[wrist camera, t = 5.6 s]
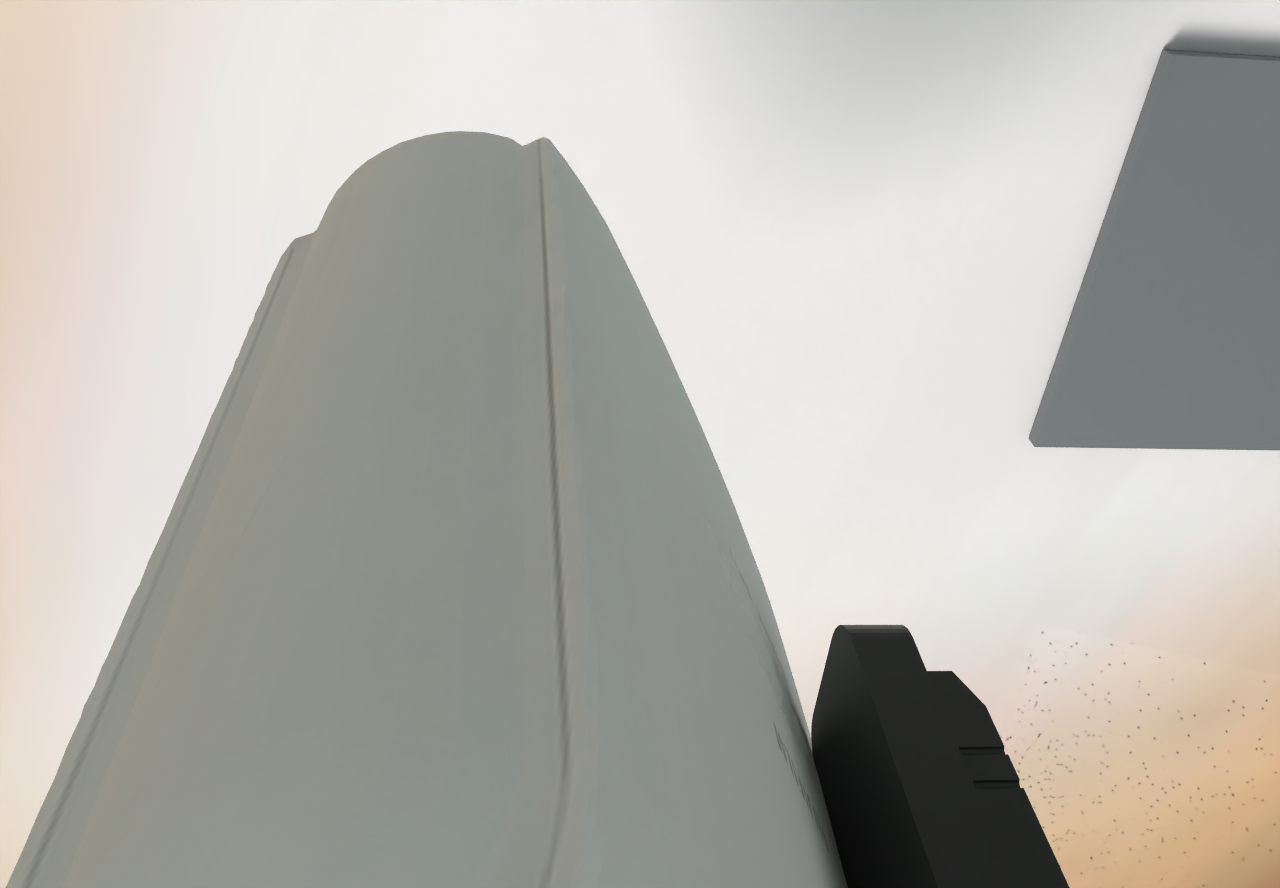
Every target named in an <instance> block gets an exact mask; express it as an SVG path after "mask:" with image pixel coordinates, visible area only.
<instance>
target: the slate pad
mask: <svg viewBox="0 0 1280 888" xmlns="http://www.w3.org/2000/svg"><path fill="white" fill-rule="evenodd" d="M1029 440H1030V441H1031V443H1032V444H1033V445H1034V447H1081V448H1154V449H1226V450H1280V57H1270V56H1254V55H1239V54H1223V53H1207V52H1191V51H1175V50H1162V53H1161V56H1160V59H1159V62H1158V65H1157V68H1156V70H1155V73H1154V76H1153V79H1152V82H1151V85H1150V88H1149V91H1148V94H1147V97H1146V99H1145V102H1144V105H1143V108H1142V111H1141V114H1140V117H1139V120H1138V123H1137V126H1136V128H1135V131H1134V134H1133V137H1132V140H1131V143H1130V146H1129V149H1128V152H1127V154H1126V157H1125V160H1124V163H1123V166H1122V169H1121V172H1120V175H1119V178H1118V181H1117V183H1116V186H1115V189H1114V192H1113V195H1112V198H1111V201H1110V204H1109V207H1108V210H1107V212H1106V215H1105V218H1104V221H1103V224H1102V227H1101V230H1100V233H1099V236H1098V239H1097V241H1096V244H1095V247H1094V250H1093V253H1092V256H1091V259H1090V262H1089V265H1088V267H1087V270H1086V273H1085V276H1084V279H1083V282H1082V285H1081V288H1080V291H1079V294H1078V296H1077V299H1076V302H1075V305H1074V308H1073V311H1072V314H1071V317H1070V320H1069V323H1068V325H1067V328H1066V331H1065V334H1064V337H1063V340H1062V343H1061V346H1060V349H1059V352H1058V354H1057V357H1056V360H1055V363H1054V366H1053V369H1052V372H1051V375H1050V378H1049V380H1048V383H1047V386H1046V389H1045V392H1044V395H1043V398H1042V401H1041V404H1040V407H1039V409H1038V412H1037V415H1036V418H1035V421H1034V424H1033V427H1032V430H1031V433H1030V436H1029Z"/></svg>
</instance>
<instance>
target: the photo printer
mask: <svg viewBox="0 0 1280 888" xmlns="http://www.w3.org/2000/svg"><path fill="white" fill-rule="evenodd" d="M6 888H848V886H847V883H846V879H845V875H844V871H843V868H842V864H841V860H840V857H839V853H838V849H837V845H836V841H835V837H834V834H833V830H832V826H831V822H830V818H829V815H828V811H827V807H826V803H825V800H824V796H823V792H822V788H821V784H820V781H819V777H818V773H817V770H816V766H815V763H814V759H813V755H812V742H811V737H810V733H809V730H808V726H807V723H806V720H805V716H804V713H803V709H802V706H801V703H800V699H799V696H798V692H797V689H796V686H795V682H794V679H793V676H792V672H791V669H790V666H789V662H788V659H787V656H786V652H785V649H784V646H783V642H782V639H781V636H780V632H779V629H778V626H777V623H776V620H775V616H774V613H773V610H772V607H771V604H770V601H769V598H768V595H767V592H766V589H765V586H764V583H763V581H762V578H761V575H760V573H759V570H758V567H757V565H756V562H755V559H754V557H753V554H752V551H751V549H750V546H749V544H748V541H747V538H746V536H745V533H744V530H743V528H742V525H741V522H740V520H739V517H738V514H737V512H736V509H735V507H734V504H733V502H732V499H731V497H730V494H729V492H728V489H727V487H726V484H725V482H724V480H723V477H722V475H721V472H720V470H719V467H718V465H717V463H716V460H715V458H714V456H713V453H712V451H711V448H710V446H709V444H708V441H707V439H706V437H705V434H704V432H703V430H702V427H701V425H700V423H699V420H698V418H697V416H696V414H695V411H694V409H693V407H692V405H691V403H690V400H689V398H688V396H687V394H686V391H685V389H684V387H683V385H682V382H681V380H680V378H679V376H678V374H677V371H676V369H675V367H674V365H673V362H672V360H671V358H670V356H669V353H668V351H667V349H666V347H665V345H664V343H663V340H662V338H661V336H660V334H659V332H658V330H657V327H656V325H655V323H654V321H653V319H652V317H651V315H650V312H649V310H648V308H647V306H646V304H645V302H644V300H643V297H642V295H641V293H640V291H639V289H638V287H637V284H636V282H635V280H634V278H633V276H632V274H631V272H630V270H629V268H628V266H627V264H626V262H625V260H624V258H623V256H622V254H621V252H620V250H619V248H618V246H617V244H616V242H615V240H614V238H613V236H612V234H611V232H610V230H609V228H608V226H607V224H606V222H605V221H604V219H603V217H602V216H601V214H600V212H599V211H598V209H597V207H596V206H595V204H594V202H593V201H592V199H591V197H590V196H589V194H588V193H587V191H586V189H585V188H584V186H583V185H582V183H581V182H580V180H579V179H578V177H577V176H576V175H575V173H574V172H573V170H572V169H571V167H570V166H569V165H568V163H567V162H566V160H565V159H564V158H563V156H562V155H561V154H560V153H559V151H558V150H557V149H556V147H555V146H554V145H553V144H552V142H551V141H550V140H549V139H547V138H544V137H543V138H540V139H538V140H535V141H533V142H531V143H530V144H528V145H524V146H521V145H520V144H518V143H517V142H515V141H514V140H512V139H510V138H508V137H503V136H499V135H494V134H489V133H485V132H463V131H458V132H444V133H438V134H431V135H425V136H422V137H418V138H415V139H411V140H408V141H405V142H401V143H399V144H397V145H395V146H393V147H391V148H389V149H387V150H385V151H383V152H381V153H380V154H378V155H376V156H375V157H373V158H371V159H370V160H368V161H367V162H365V163H364V164H363V165H362V166H361V167H359V168H358V169H357V170H356V171H355V172H354V173H353V174H352V175H351V176H350V177H349V178H348V179H347V180H346V181H345V182H344V184H343V185H342V186H341V187H340V188H339V189H338V191H337V192H336V193H335V195H334V197H333V199H332V200H331V202H330V204H329V205H328V207H327V209H326V211H325V214H324V216H323V218H322V220H321V222H320V225H319V227H318V229H317V230H316V231H315V232H314V233H311V234H308V235H305V236H302V237H299V238H296V239H294V240H293V242H292V243H291V244H290V245H289V247H288V248H287V250H286V251H285V252H284V254H283V255H282V256H281V258H280V260H279V263H278V265H277V267H276V269H275V271H274V273H273V275H272V278H271V280H270V282H269V283H268V285H267V288H266V291H265V295H264V297H263V299H262V301H261V303H260V305H259V307H258V309H257V311H256V313H255V317H254V321H253V322H252V324H251V326H250V328H249V330H248V333H247V336H246V338H245V340H244V343H243V345H242V348H241V350H240V353H239V356H238V357H237V359H236V361H235V364H234V368H233V371H232V373H231V375H230V377H229V379H228V381H227V383H226V386H225V388H224V390H223V392H222V395H221V397H220V399H219V402H218V404H217V406H216V408H215V410H214V412H213V414H212V416H211V419H210V421H209V424H208V426H207V429H206V431H205V434H204V436H203V439H202V441H201V444H200V446H199V448H198V451H197V453H196V455H195V457H194V460H193V462H192V464H191V466H190V468H189V471H188V473H187V475H186V477H185V480H184V482H183V484H182V486H181V489H180V491H179V493H178V496H177V498H176V501H175V503H174V505H173V508H172V510H171V513H170V515H169V517H168V520H167V522H166V524H165V527H164V529H163V532H162V534H161V536H160V538H159V540H158V542H157V545H156V547H155V549H154V551H153V553H152V555H151V557H150V560H149V562H148V564H147V567H146V570H145V572H144V575H143V577H142V580H141V583H140V585H139V587H138V589H137V591H136V593H135V594H134V596H133V598H132V600H131V603H130V605H129V607H128V610H127V612H126V614H125V616H124V619H123V621H122V624H121V626H120V628H119V631H118V633H117V635H116V638H115V640H114V642H113V645H112V647H111V649H110V652H109V654H108V656H107V658H106V660H105V662H104V664H103V666H102V668H101V671H100V674H99V676H98V679H97V681H96V684H95V687H94V688H93V690H92V692H91V694H90V696H89V698H88V700H87V702H86V704H85V705H84V708H83V712H82V715H81V718H80V720H79V722H78V724H77V726H76V729H75V731H74V733H73V735H72V737H71V739H70V741H69V744H68V746H67V748H66V751H65V753H64V756H63V759H62V761H61V764H60V766H59V769H58V771H57V774H56V776H55V779H54V781H53V783H52V785H51V788H50V790H49V792H48V794H47V796H46V798H45V800H44V802H43V805H42V807H41V809H40V811H39V813H38V816H37V818H36V820H35V823H34V825H33V827H32V830H31V832H30V835H29V837H28V839H27V842H26V844H25V846H24V849H23V851H22V853H21V856H20V858H19V860H18V862H17V864H16V866H15V869H14V871H13V873H12V875H11V877H10V880H9V882H8V884H7V886H6Z"/></svg>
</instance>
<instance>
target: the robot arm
mask: <svg viewBox="0 0 1280 888" xmlns="http://www.w3.org/2000/svg"><path fill="white" fill-rule="evenodd" d="M811 742H812V755H813V759H814V763H815V766H816V770H817V773H818V777H819V781H820V784H821V788H822V792H823V796H824V800H825V803H826V807H827V811H828V815H829V818H830V822H831V826H832V830H833V834H834V837H835V841H836V845H837V849H838V853H839V857H840V860H841V864H842V868H843V871H844V875H845V879H846V883H847V886H848V888H1069V886H1068V884H1067V881H1066V879H1065V877H1064V875H1063V873H1062V871H1061V868H1060V866H1059V864H1058V862H1057V860H1056V858H1055V855H1054V853H1053V851H1052V849H1051V847H1050V845H1049V842H1048V840H1047V838H1046V836H1045V834H1044V832H1043V829H1042V827H1041V825H1040V823H1039V821H1038V819H1037V816H1036V814H1035V812H1034V810H1033V808H1032V806H1031V803H1030V801H1029V799H1028V797H1027V795H1026V792H1025V790H1024V788H1020V785H1019V780H1020V779H1019V777H1018V775H1017V773H1016V771H1015V769H1014V766H1013V764H1012V762H1011V760H1010V758H1009V756H1008V755H1005V753H1004V745H1003V743H1002V740H1001V738H1000V736H999V734H998V732H997V730H996V727H995V725H994V723H993V721H992V719H991V717H990V714H989V712H988V710H987V708H986V706H985V705H984V704H983V703H982V702H981V701H980V700H979V699H978V698H977V697H976V696H975V695H974V694H973V692H972V691H971V690H970V689H969V688H968V687H967V686H966V685H965V684H964V683H963V682H962V681H961V680H960V679H959V678H958V677H957V676H956V675H955V674H954V673H953V672H952V671H926V668H925V666H924V663H923V661H922V659H921V656H920V654H919V651H918V649H917V647H916V644H915V642H914V639H913V637H912V635H911V633H910V631H909V630H908V629H907V628H906V627H905V626H903V625H839V626H838V627H837V628H836V629H835V631H834V633H833V636H832V640H831V644H830V648H829V652H828V656H827V660H826V664H825V668H824V672H823V676H822V681H821V685H820V689H819V693H818V697H817V701H816V705H815V709H814V713H813V719H812V730H811Z"/></svg>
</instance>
